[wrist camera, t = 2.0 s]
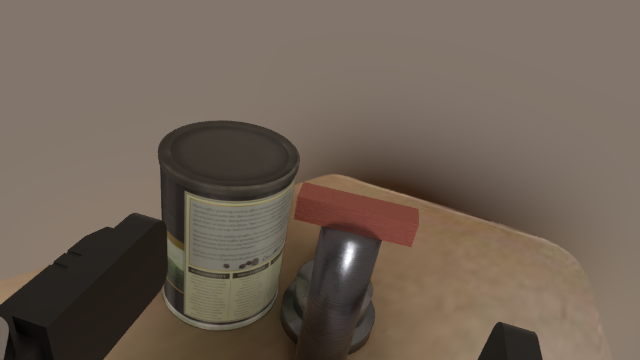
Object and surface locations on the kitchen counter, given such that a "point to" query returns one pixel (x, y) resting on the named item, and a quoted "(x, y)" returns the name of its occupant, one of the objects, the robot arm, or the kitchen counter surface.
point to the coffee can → (225, 220)
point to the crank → (342, 265)
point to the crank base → (294, 322)
